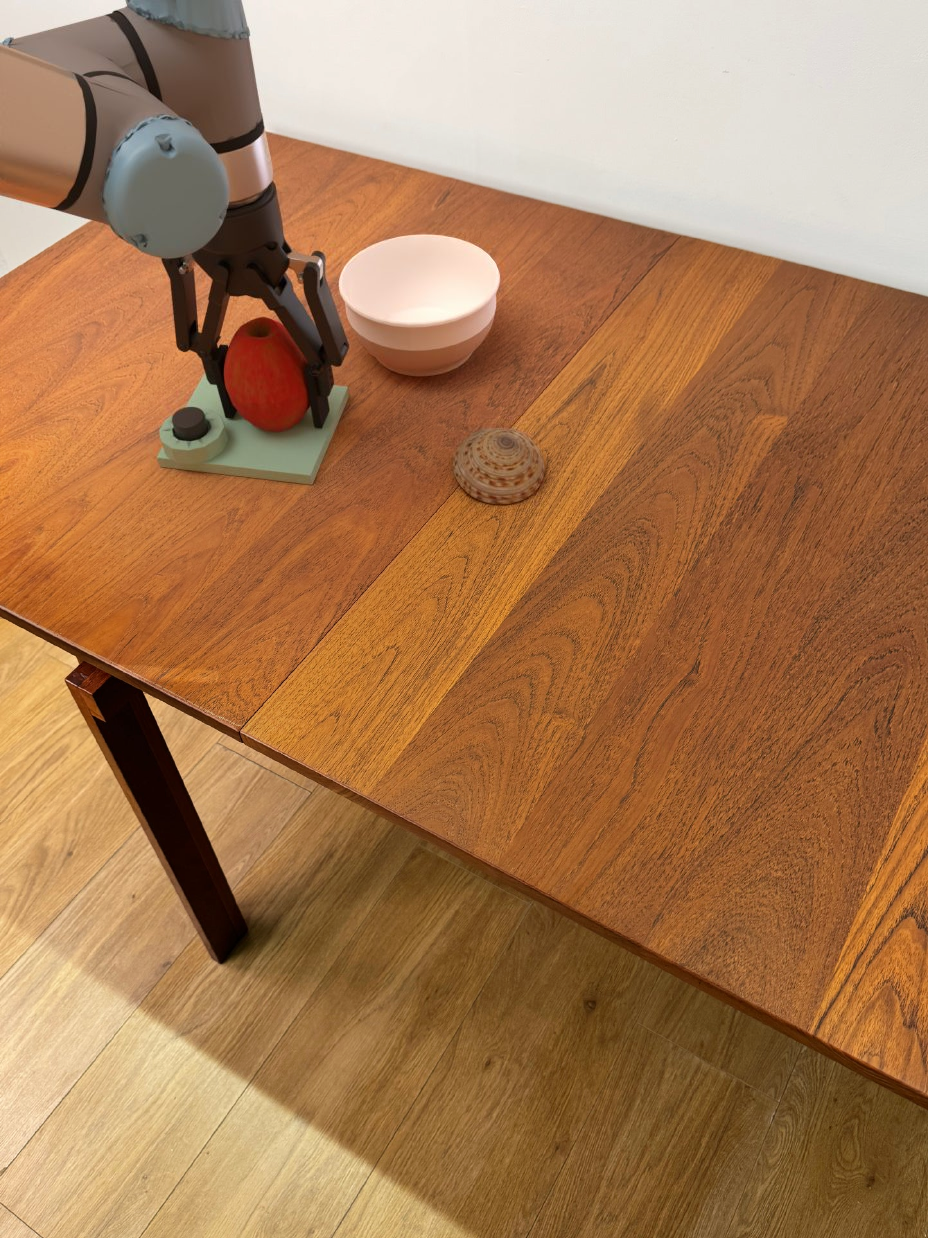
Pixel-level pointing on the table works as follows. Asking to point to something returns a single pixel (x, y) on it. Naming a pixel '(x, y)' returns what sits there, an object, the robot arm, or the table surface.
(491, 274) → the bowl
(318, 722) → the table surface
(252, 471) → the scale
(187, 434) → the button
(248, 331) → the apple
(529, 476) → the seashell
